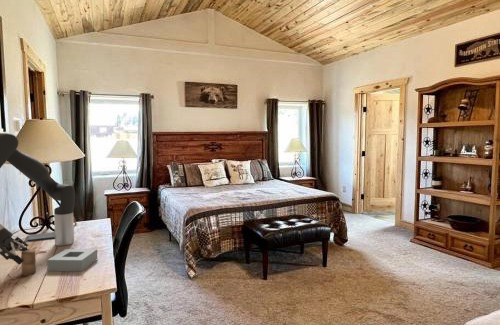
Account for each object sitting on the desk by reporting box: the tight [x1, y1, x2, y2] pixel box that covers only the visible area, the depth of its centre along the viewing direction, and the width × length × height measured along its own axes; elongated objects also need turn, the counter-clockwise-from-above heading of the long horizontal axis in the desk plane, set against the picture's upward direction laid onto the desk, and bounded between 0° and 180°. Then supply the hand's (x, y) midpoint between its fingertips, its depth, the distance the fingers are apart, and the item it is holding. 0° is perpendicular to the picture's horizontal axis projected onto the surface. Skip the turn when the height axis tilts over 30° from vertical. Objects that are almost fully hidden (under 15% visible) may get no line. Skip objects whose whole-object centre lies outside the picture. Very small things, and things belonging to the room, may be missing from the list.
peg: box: [20, 249, 37, 276], centre depth 141 cm, size 5×5×10 cm
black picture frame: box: [23, 231, 55, 244], centre depth 194 cm, size 20×2×15 cm
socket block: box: [46, 248, 98, 272], centre depth 151 cm, size 15×15×5 cm
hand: (26, 259), depth 140 cm, fingers open, 8 cm apart
